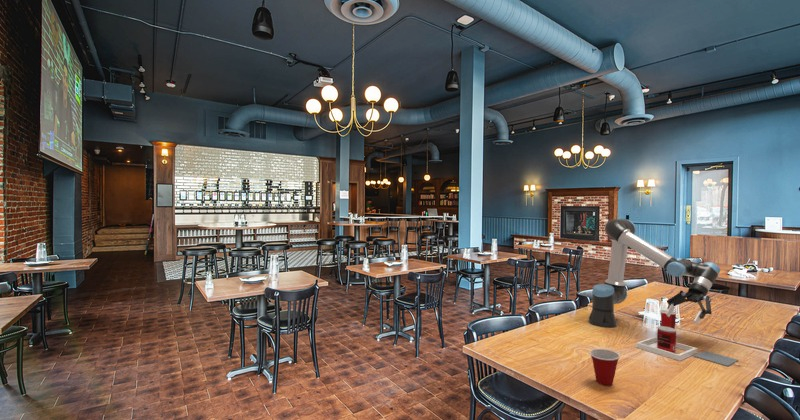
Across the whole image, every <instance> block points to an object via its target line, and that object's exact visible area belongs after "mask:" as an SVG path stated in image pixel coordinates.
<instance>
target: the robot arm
mask: <svg viewBox="0 0 800 420" xmlns="http://www.w3.org/2000/svg"><path fill="white" fill-rule="evenodd" d="M636 231H637V229H636V225H635V224H634V223H633V221H631V220H629V219H627V218H616V219H615V218H614V219H610V220H609V221H607V222H606V224H605V226H604V232H605V234H606V235H607V236H608V237H609V240H610V241H611V242H612V243H611V249H610V256H609V257H610V259H609V267H608V275H607V278H606V279H605V280H604V283H601V284H600V283H597V284H595V285H593V286H592V292H591V293H592V300H591V301H592V306H591V308H592V309H591V312H590V315H589V316H588V317H589V318H588V323H589V324H591V325H593V326H597V327H603V328H616V327H617V324H618V321H617V319H616V315H615V312H614V309H615V305H618V304H622V303H623V302H624V301H625V300H627V297H628V290H627V289H626V283H625V281H624V277H625V269H626V263H627V255H628V254H627V253H628V247H629V248H630V249H632V250H634V251H636V252H637V253H638V254H640V255H641V256H643V257H645V258H646V259H648V260H649V261H651V262H653V263H654V264H656V265H658V266H659V267H661V268H662V269H665V270H666V272H667V273H668V274H669V275H670V276H672V277H677V278H678V277H682V276H685V275H686V276H687V275H689V276H691V277H694V279H693V281H692V283H691V284H690V285H689V288H688V290H687V292H684V291H683V290H680V291H679V292H678V293H676V294H675V295H673V296H672V297H671V298H669V299H668V300H666V303H667V304H668V306H667V307H666V309H668V310H667V312H666V315H667V316H668V317H670V315H671V313H672V312H673V310H674V311H675V309H676V306H679V305H681V304H683V303H687V302H691V303H694V304H696V303H697V304H698V306H699V308H700V309H701V310H699V311H698V313H697V314H696V316H695V317H694V320H693V322H694V324H695V325H699V323H700V321H701V320H703V319H704V318H705V317H706V315H712V306H711V302H712V298H711V297H710V295H708V293H709V291H710V290H711V288H712V286H713V284H714V282H715V281H716V280H717V278H718V277H719V274H720V272H721V268H720V266H719V265H717V264H716V263H715V262H711V261H709V262H708V261H707V262H705V263H703V264H701V263H697V262H694V261H691V260H688V259H685V258H681V257H676V258H675V257H673V256H671V255H670V254H668V253H667V252H665V251H663V250H661V249H660V248H658V247H656V246H655V245H653V244H651V243H650V242H648V241H647V240H644V239H643V238H641V237H640V236H638V235H637V234H636ZM704 300H705V306H704V305H703V302H702V301H704ZM705 307H706V308H705Z"/></svg>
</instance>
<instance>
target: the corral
mask: <svg viewBox="0 0 800 420" xmlns="http://www.w3.org/2000/svg"><path fill="white" fill-rule="evenodd" d="M654 343H657V336H652V337H650V338H649V337H648V338H647V339H644V340H640V341H637V342H636V348H637V349H640V350H644V351H646V352H650V353H652V354H656V355H659V356H663V357H666V358H669V359H673V360H675V361H679V362H681V361H683V360H685V359H688V358H690V357H692V356H694V355H696V354H698V348H697V347H694V346H690V345H687V344H684V343H679V342H676V349H679V350H682V351H683V352H681V353H676V352H675V353H672V352H668V351H665V350H662V349H658V348H657V347H654V346H652V345H651V344H654ZM650 345H651V346H650Z"/></svg>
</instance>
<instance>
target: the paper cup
mask: <svg viewBox="0 0 800 420" xmlns="http://www.w3.org/2000/svg"><path fill="white" fill-rule="evenodd" d="M667 310H668V309H667V308H661V310H660V323H661V326H665V327H670V328H673V329H675V330H676V328H675V327H676V321H677V320H676V319H677V318H676V316H677V314H678V313H677V312H676V310H675V309H674V310H673V312H672V313H671V315H670V317H668V316H667V315H666V312H667Z"/></svg>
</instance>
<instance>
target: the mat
mask: <svg viewBox="0 0 800 420" xmlns="http://www.w3.org/2000/svg"><path fill="white" fill-rule="evenodd" d="M692 356H693V357H694V358H697V359H700V360H703V361H707V362H711V363H714V364H717V365H720V366H723V367H726V368H727V367H730V366H732V365H733V364H735V362H736V363H737V362H739V359H736V358H733V357H729V356H725V355H721V354H720V353H719V354H718V353H715V352H710V351H707V350H703V351H701V352H697V354H694V355H692Z"/></svg>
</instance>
